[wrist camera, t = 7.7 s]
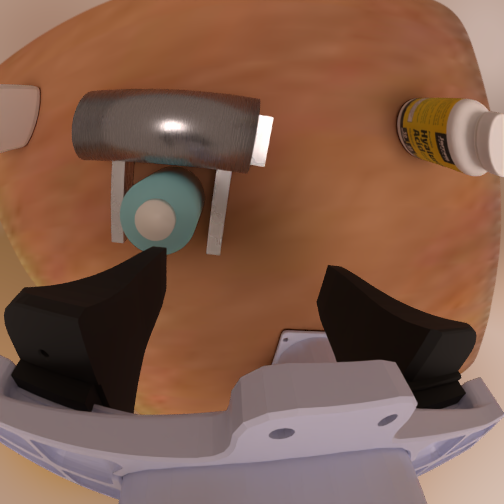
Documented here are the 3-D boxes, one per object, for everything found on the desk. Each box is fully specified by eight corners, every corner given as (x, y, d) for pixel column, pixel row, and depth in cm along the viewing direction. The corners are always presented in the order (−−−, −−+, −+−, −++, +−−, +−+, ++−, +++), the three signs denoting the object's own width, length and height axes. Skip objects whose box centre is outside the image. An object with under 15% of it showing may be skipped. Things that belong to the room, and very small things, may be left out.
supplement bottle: (383, 128, 18) (471, 141, 10) (414, 86, 17) (500, 83, 8) (421, 171, 20) (502, 205, 11) (448, 130, 18) (530, 148, 10)
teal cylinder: (202, 229, 21) (193, 262, 16) (143, 225, 21) (119, 256, 16) (206, 168, 19) (197, 181, 14) (144, 165, 19) (115, 179, 14)
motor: (243, 246, 22) (247, 292, 16) (102, 229, 21) (64, 266, 15) (267, 107, 18) (283, 98, 12) (108, 96, 16) (63, 90, 10)
